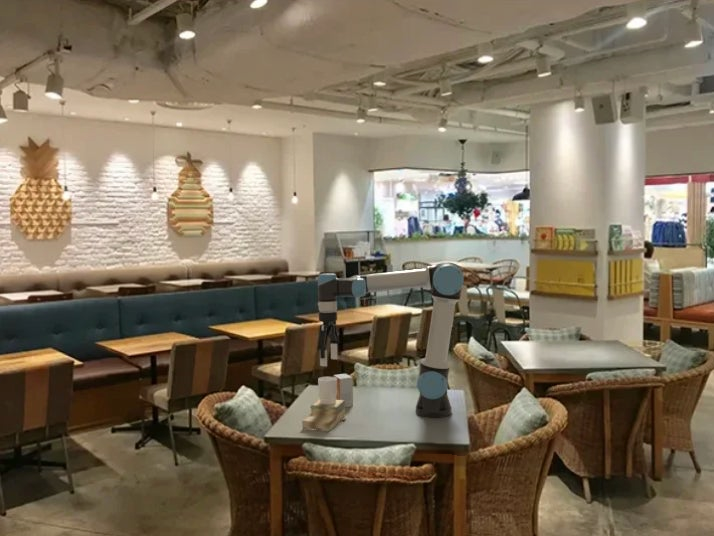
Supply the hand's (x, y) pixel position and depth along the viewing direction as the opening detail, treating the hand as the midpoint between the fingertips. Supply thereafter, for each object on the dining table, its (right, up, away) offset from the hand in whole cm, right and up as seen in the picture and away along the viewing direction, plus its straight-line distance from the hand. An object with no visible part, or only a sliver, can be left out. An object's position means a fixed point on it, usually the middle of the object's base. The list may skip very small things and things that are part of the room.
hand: (329, 362), depth 268 cm
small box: (+5, -22, +22) cm, 32 cm away
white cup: (0, -17, +1) cm, 17 cm away
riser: (-2, -24, -4) cm, 24 cm away
